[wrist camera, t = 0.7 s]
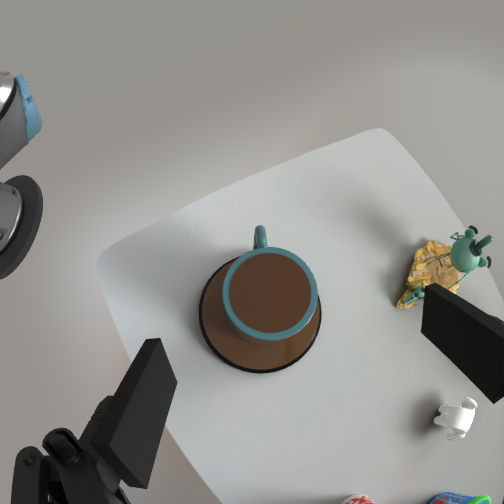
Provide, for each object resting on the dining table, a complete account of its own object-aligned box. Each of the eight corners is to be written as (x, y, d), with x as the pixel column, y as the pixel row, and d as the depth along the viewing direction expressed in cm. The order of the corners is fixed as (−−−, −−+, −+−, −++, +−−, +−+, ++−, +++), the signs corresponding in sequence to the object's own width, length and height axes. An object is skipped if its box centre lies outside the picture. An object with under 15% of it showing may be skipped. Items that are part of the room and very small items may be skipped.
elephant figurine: (449, 439, 27) (472, 445, 21) (418, 431, 28) (442, 438, 22) (465, 401, 29) (489, 402, 23) (436, 389, 30) (462, 391, 25)
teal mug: (324, 360, 31) (361, 361, 21) (207, 374, 30) (192, 383, 20) (308, 251, 36) (333, 211, 26) (199, 260, 35) (184, 221, 25)
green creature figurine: (376, 260, 37) (443, 208, 23) (445, 238, 41) (500, 196, 28) (399, 323, 34) (479, 293, 20) (464, 287, 38) (525, 254, 24)
